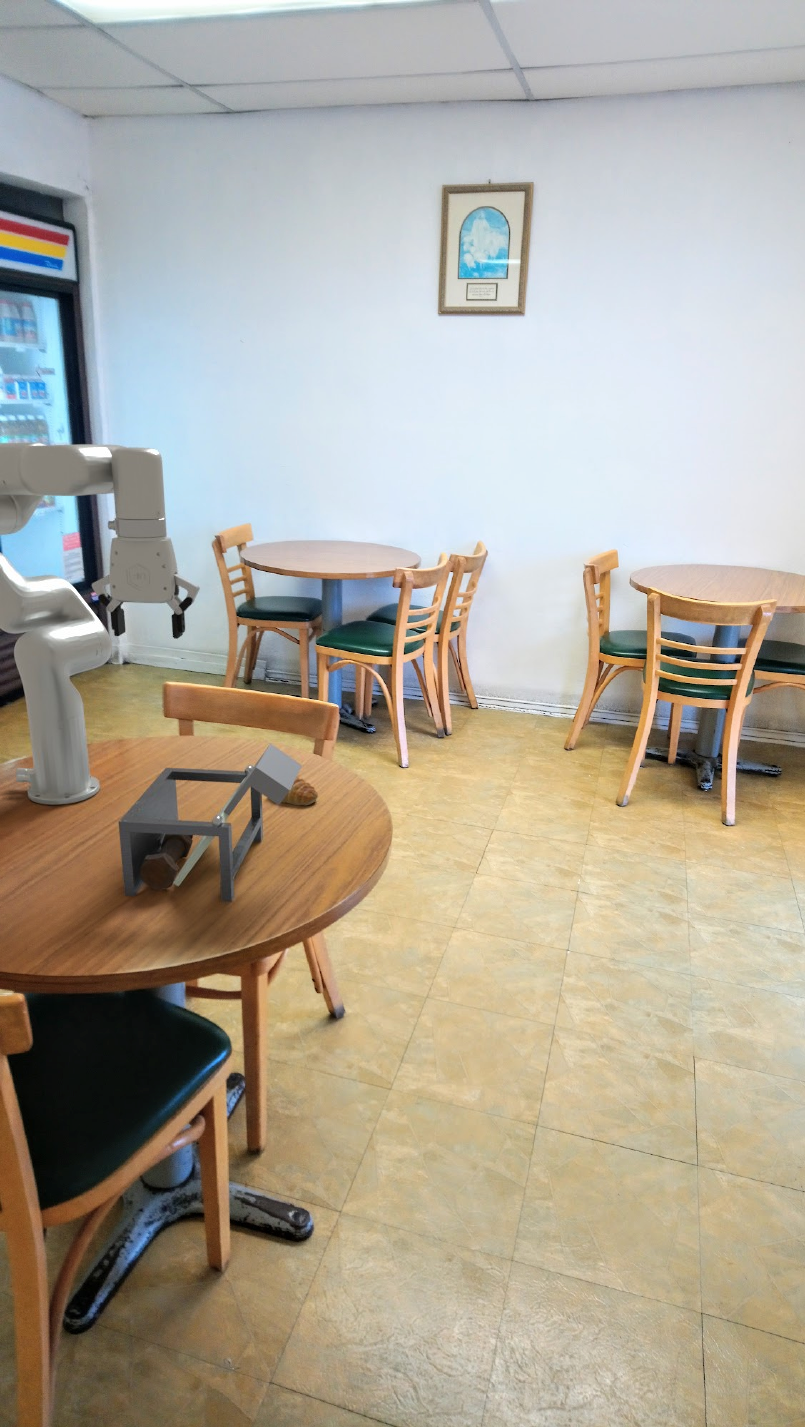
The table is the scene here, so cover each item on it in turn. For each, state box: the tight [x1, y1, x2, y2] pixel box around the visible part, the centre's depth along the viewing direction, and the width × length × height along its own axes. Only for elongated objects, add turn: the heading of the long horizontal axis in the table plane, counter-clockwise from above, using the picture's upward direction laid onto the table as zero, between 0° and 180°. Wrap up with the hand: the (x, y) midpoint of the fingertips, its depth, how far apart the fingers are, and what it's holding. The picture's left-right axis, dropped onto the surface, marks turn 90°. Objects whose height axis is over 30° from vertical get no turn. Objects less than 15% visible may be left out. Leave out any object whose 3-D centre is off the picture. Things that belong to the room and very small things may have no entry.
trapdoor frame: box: [118, 764, 264, 903], centre depth 135 cm, size 16×21×13 cm
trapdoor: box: [173, 743, 303, 887], centre depth 134 cm, size 21×17×6 cm
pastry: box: [281, 776, 319, 806], centre depth 163 cm, size 9×7×4 cm
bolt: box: [139, 834, 194, 891], centre depth 136 cm, size 6×5×15 cm
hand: (149, 635), depth 142 cm, fingers open, 9 cm apart
